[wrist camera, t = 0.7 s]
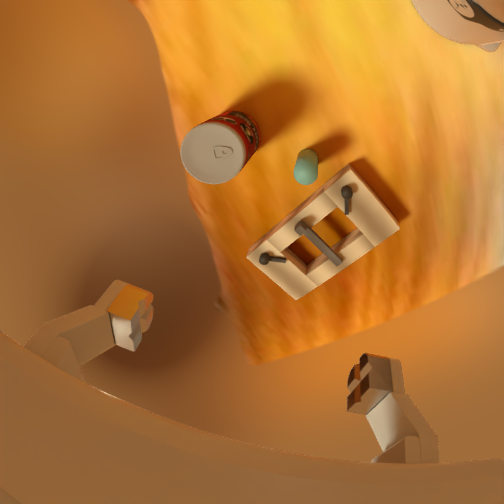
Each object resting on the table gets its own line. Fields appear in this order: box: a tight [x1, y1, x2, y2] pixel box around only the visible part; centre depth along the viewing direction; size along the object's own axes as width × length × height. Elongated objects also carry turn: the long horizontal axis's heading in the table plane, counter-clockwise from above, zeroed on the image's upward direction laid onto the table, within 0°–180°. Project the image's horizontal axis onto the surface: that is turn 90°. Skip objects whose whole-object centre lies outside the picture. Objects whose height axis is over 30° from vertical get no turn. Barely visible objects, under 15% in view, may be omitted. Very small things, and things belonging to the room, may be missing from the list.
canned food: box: [181, 111, 261, 184], centre depth 39 cm, size 8×8×11 cm
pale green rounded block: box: [294, 149, 318, 185], centre depth 40 cm, size 3×3×7 cm
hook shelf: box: [246, 164, 400, 300], centre depth 47 cm, size 22×12×5 cm, turn 138°
